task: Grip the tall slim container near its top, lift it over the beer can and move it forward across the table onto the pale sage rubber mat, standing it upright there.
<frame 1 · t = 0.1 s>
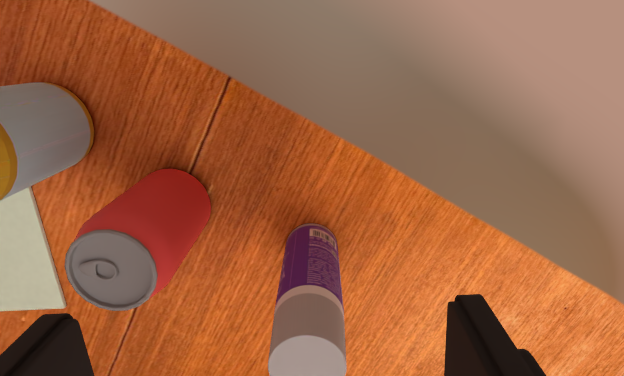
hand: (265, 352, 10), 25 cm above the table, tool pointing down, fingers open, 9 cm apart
beer can: (176, 201, 37), on the table
bottle: (57, 124, 35), on the table
container: (311, 245, 38), on the table
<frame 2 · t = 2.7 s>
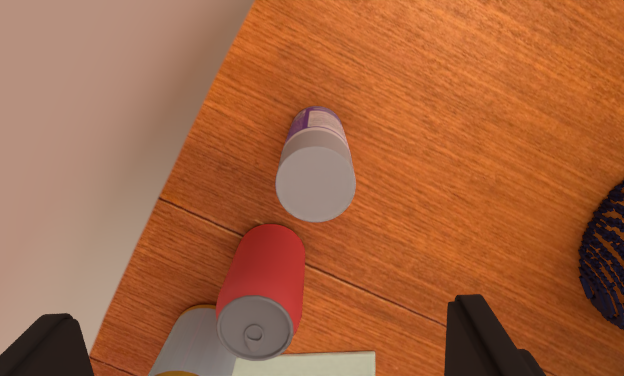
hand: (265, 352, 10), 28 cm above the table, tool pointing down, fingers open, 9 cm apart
beer can: (272, 250, 41), on the table
bottle: (210, 327, 44), on the table
container: (316, 131, 37), on the table
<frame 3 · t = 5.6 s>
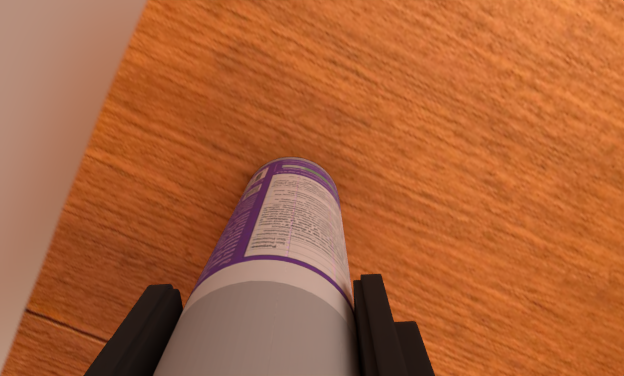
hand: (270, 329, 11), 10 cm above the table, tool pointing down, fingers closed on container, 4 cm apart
container: (292, 200, 21), on the table, touching gripper
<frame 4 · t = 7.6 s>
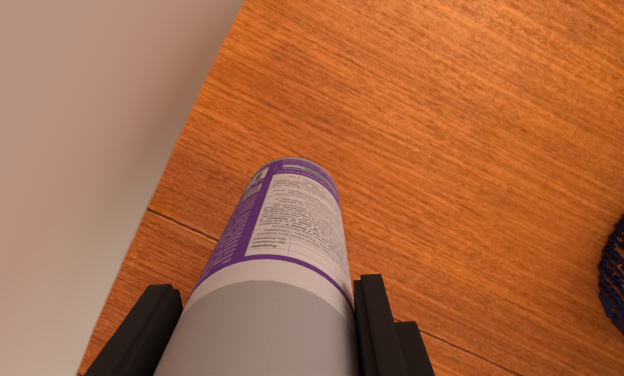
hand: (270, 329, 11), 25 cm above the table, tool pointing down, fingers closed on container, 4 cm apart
container: (292, 200, 21), point 15 cm above the table, touching gripper
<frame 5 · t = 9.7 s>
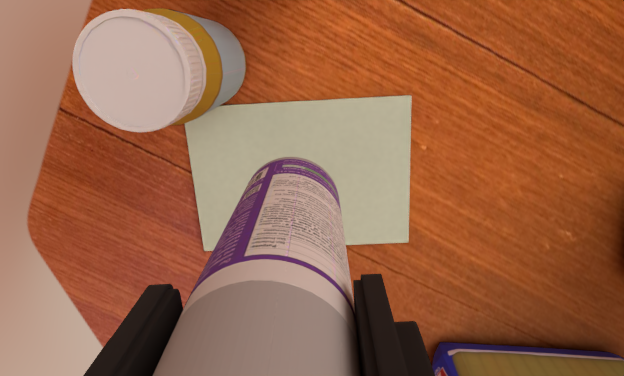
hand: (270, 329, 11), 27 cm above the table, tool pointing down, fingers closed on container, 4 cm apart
mat: (300, 177, 39), on the table
bread: (532, 374, 46), on the table
bottle: (207, 63, 36), on the table
container: (292, 200, 21), point 17 cm above the table, touching gripper
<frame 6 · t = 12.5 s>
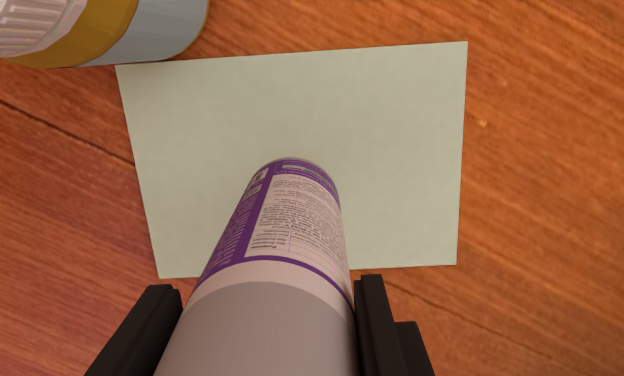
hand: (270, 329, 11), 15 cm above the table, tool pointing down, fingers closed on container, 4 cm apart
mat: (298, 170, 26), on the table
container: (292, 200, 21), point 6 cm above the table, touching gripper
when the fingers open (10 cm above the table, at t = 14.2 s): container stays where it is, resting on mat.
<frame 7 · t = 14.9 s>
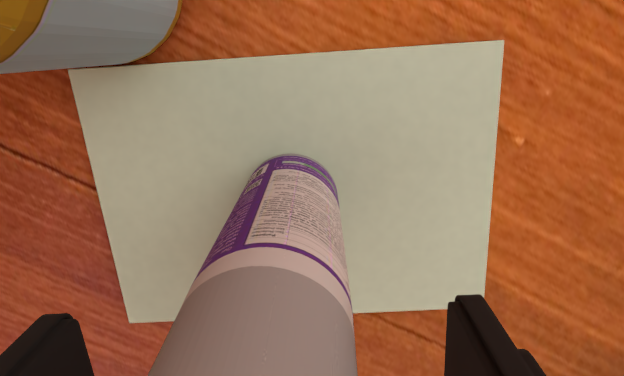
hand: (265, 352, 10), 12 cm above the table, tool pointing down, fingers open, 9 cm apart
mat: (294, 196, 21), on the table
container: (292, 196, 21), resting on mat
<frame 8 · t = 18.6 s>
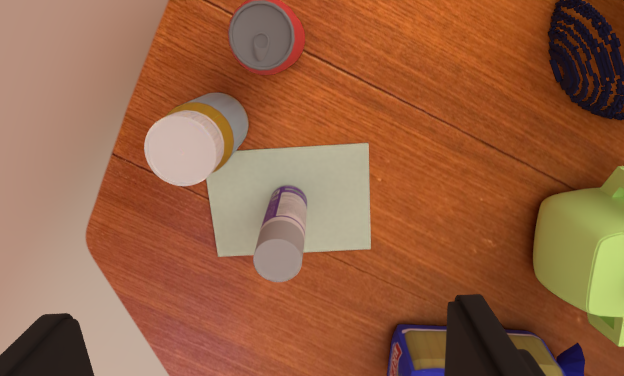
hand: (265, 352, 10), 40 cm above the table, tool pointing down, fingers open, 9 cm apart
mat: (289, 201, 52), on the table
bread: (470, 349, 59), on the table
beer can: (275, 38, 46), on the table
bottle: (220, 121, 49), on the table
teapot: (598, 228, 53), on the table
container: (288, 201, 52), resting on mat
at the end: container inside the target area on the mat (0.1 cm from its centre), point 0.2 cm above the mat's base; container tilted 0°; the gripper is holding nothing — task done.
